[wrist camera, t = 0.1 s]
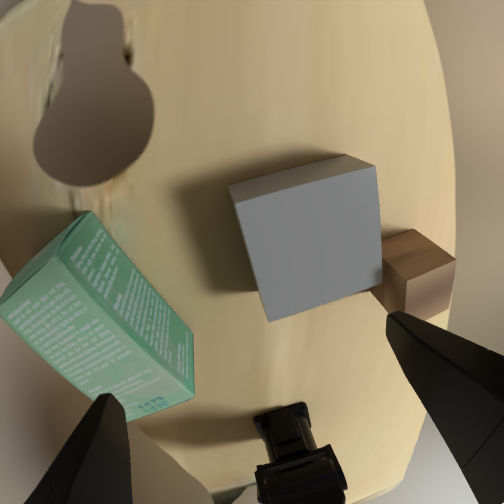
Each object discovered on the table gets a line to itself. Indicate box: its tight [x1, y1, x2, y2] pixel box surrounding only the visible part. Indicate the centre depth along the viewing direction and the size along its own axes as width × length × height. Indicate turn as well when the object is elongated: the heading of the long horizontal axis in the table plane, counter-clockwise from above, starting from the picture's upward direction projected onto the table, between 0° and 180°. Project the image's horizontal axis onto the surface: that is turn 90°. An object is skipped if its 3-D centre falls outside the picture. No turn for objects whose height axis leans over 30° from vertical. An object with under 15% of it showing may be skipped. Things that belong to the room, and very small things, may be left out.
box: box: [0, 211, 195, 422], centre depth 20 cm, size 7×14×8 cm, turn 29°
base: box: [228, 155, 382, 322], centre depth 22 cm, size 9×9×4 cm
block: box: [370, 229, 456, 321], centre depth 24 cm, size 5×5×6 cm
